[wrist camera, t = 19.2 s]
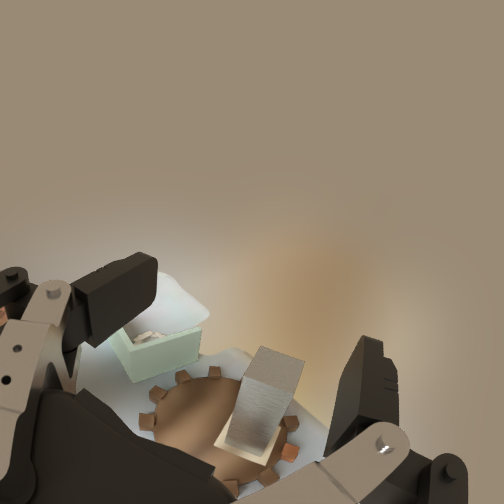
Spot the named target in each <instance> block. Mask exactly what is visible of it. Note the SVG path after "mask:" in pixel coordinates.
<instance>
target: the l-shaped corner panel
mask: <svg viewBox="0 0 504 504" xmlns="http://www.w3.org/2000/svg"><path fill="white" fill-rule="evenodd" d="M201 332H202V330H201V328H200V327H195V328H192V329H189V330H186V331H183V332H179V333H176V334H173V335H170V336H166V335H162V334H160V333H159V332H155V333H153V332H152V331H149V332H144V333H143V334H142V335H138V337H136V338H134V339H133V340H134V344H132V342H131V340H130V339H129V337H128V336H127V334H126V332H125V331H124V329H123V327H122V328H121V329H119V330H118V331H117V332H115V333H114V334H113V335H112V336H110V337H109V338H108V340H109V342H110V344H111V346H112V348H113V350H114V351H115V353H116V355H117V357H118V359H119V361H120V362H121V364H122V366H123V368H124V369H125V371H126V373H127V375H128V376H129V378H130V380H131V381H132V383H137V382H140V381H143V380H146V379H148V378H151V377H154V376H157V375H160V374H163V373H166V372H168V371H171V370H174V369H177V368H180V367H182V366H185V365H188V364H190V363H193V362H196V361H198V355H199V346H200V339H201Z"/></svg>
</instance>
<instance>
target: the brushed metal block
mask: <svg viewBox="0 0 504 504" xmlns="http://www.w3.org/2000/svg"><path fill="white" fill-rule="evenodd" d="M304 363H305V361H302V360H299V359H296V358H293V357H290V356H287V355H284V354H282V353H279V352H276V351H273V350H271V349H268V348H265V347H263V346H260V348H259V349H258V351H257V353H256V355H255V357H254V358H253V360H252V362H251V364H250V365H249V367H248V369H247V371H246V372H245V374H244V376H243V380H242V383H241V387H240V390H239V394H238V397H237V401H236V404H235V408H234V411H233V414H232V418H231V421H230V424H229V428H228V431H227V435H226V438H225V441H224V443H225V444H228V445H230V446H233V447H235V448H238V449H240V450H243V451H245V452H248V453H250V454H253V455H256V456H259V457H261V456H262V454H263V452H264V451H265V449H266V447H267V445H268V443H269V442H270V440H271V438H272V436H273V434H274V432H275V431H276V429H277V427H278V425H279V423H280V421H281V419H282V417H283V415H284V413H285V411H286V409H287V407H288V405H289V403H290V401H291V399H292V397H293V395H294V393H295V390H296V387H297V384H298V381H299V378H300V375H301V372H302V369H303V366H304Z"/></svg>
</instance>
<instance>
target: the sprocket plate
mask: <svg viewBox="0 0 504 504" xmlns="http://www.w3.org/2000/svg"><path fill="white" fill-rule="evenodd" d="M208 375H209V377H202V378H196V379H192V380H191V377H190V376H189V374H188V373H187V372H186V371H185V370H182V371H179V372H176V373H175V381H176V383H177V384H178V385H177V386H175V387H173V388H172V389H171V390H169V391H168V392H167V391H165V390H163V389H162V388H160V387H158V386H156V385H155V386H154V387H153V388H152V389H151V390H150V391H149V396H150V400H151V401H153V402H154V403H156V404H158V405H157V407H156V409H155V412H154V415H152V414H143V413H139V428H140V430H144V431H153V432H154V438H155V442H157V443H160V444H164V445H167V446H170V447H174V448H177V449H180V450H182V451H183V452H185V453H187V454H189V455H191V456H194V457H196V458H198V459H200V460H202V461H204V462H206V463H208V464H211V465H213V466H215V467H216V468H215V471H214V475H213V476H214V477H215V478H217V479H218V480H219V481H221V482H222V483H223V484H224V485H225V486H226V487H227V488H228V489H229V490H230V491H231V492H232V494H233V495H234V496H235V498H236V499H237V497H238V496H239V491H238V486H239V485H244V484H247V483H250V482H253V481H255V480H258V481H259V482H260V483H261V484H262V485H263V486H264V487H265V488H266V487H268V486H270V485H272V484H274V483H276V482H277V481H278V480H279V479H280V477H279V476H278V475H277V474H276V473H275V472H274V471H273V470H272V468H273V467H274V466H275V464H276V463H277V461H278V460H279V459H282V460H286V461H289V462H293V461H294V459H295V458H296V457H297V454H298V451H299V448H300V447H297V446H294V445H290V444H287V443H286V440H287V432H292V431H296V429H297V427H298V426H299V421H298V418H297V416H286V417H282V419H281V421H280V423H279V425H278V427H277V429H276V431H275V432H274V434H273V436H272V438H271V440H270V442H269V443H268V445H267V447H266V449H265V451H264V452H263V454H262V456H261V457H259V456H256V455H253V454H250V453H248V452H245V451H243V450H240V449H238V448H235V447H233V446H230V445H228V444H225V443H224V441H225V438H226V435H227V431H228V428H229V424H230V421H231V418H232V414H233V411H234V408H235V404H236V401H237V397H238V394H239V390H240V387H241V383H242V380H243V377H242V379H241V381H237V380H233V379H228V378H222V377H221V371H220V367H215V366H210V368H209V374H208ZM243 376H244V375H243Z"/></svg>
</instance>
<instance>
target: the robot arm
mask: <svg viewBox="0 0 504 504" xmlns="http://www.w3.org/2000/svg"><path fill="white" fill-rule="evenodd" d="M157 270H158V262H157V259H156V258H154V257H151V256H149V255H147V254H144V253H142V252H137V253H135V254H133V255H131V256H129V257H127V258H125V259H122V260H117V261H113V262H111V263H109V264H107V265H105V266H104V267H103V268H102V267H101V268H99V269H97V270H96V272H95V271H94V272H92V273H90V274H88V275H86V276H84V277H82V278H80V279H78V280H76V281H75V282H73V283H71V284H68V283H66V282H64V281H61V280H50V281H47V282H44V283H42V284H40V285H39V286H38V285H35V284H32V283H29V279H28V273H27V271H26V270H25V269H24V268H21V267H11V268H7V269H5V270H3V271H1V272H0V309H1V308H2V307H4V308H5V312H6V315H7V318H8V321H7V322H6V323H5V324H3V325H2V326H0V504H358V503H360V504H468V472H467V468H466V466H465V464H464V462H463V461H462V460H461V459H460V458H459V457H457V456H456V455H453V454H450V453H444V454H441V455H439V456H437V457H436V458H435V459H434V460H433V461H432V460H430V459H428V458H426V457H424V456H422V455H420V454H418V453H416V452H414V451H412V450H411V449H410V443H409V439H408V437H407V435H406V434H405V432H404V431H403V430H402V429H401V428H399V396H398V384H397V383H398V375H397V369H396V367H395V366H394V364H393V362H392V360H391V359H389V358H385V357H383V355H384V353H383V342H382V341H380V340H377V339H374V338H370V337H367V336H364V335H363V336H362V337H361V338H360V340H359V342H358V343H357V346H356V347H355V349H354V351H353V353H352V355H351V357H350V359H349V361H348V362H347V364H346V366H345V368H344V371H343V372H342V375H341V378H340V381H339V386H338V391H337V397H336V402H335V407H334V412H333V417H332V421H331V426H330V430H329V435H328V439H327V443H326V447H325V451H324V455H323V457H326V458H325V459H324V460H322V461H320V462H317V461H315V462H312V463H310V464H308V465H306V466H305V467H303V468H301V469H299V470H298V471H296V472H294V473H292V474H291V475H289V476H287V477H285V478H283V479H281V480H279V481H278V482H276V483H274V484H272V485H270V486H268V487H266V488H264V489H262V490H260V491H257V492H255V493H253V494H251V495H249V496H247V497H244V498H242V499H240V500H237V499H236V498H235V496H234V495H233V494H232V492H231V491H230V490H229V489H228V488H227V487H226V486H225V485H224V484H223V483H222V482H221V481H219V480H218V479H217V478H215V477H214V476H213V475H214V471H215V468H216V467H215V466H213V465H211V464H208V463H206V462H204V461H202V460H200V459H198V458H196V457H194V456H191V455H189V454H187V453H185V452H183V451H182V450H180V449H177V448H174V447H170V446H167V445H164V444H160V443H157V442H154V441H151V440H148V439H145V438H142V437H139V436H137V435H136V434H134V433H133V432H132V431H131V430H130V429H129V428H128V427H127V425H126V424H125V423H124V422H123V421H122V420H121V419H120V418H119V417H118V416H117V415H116V413H115V412H114V411H113V410H112V409H111V408H110V407H109V406H107V405H106V404H105V403H103V402H102V401H100V400H99V399H98V398H96V397H95V396H94V395H92V394H91V393H90V392H88V391H87V390H86V389H85V388H84V389H82V390H81V391H80V392H79V393H78V394H77V395H76V391H75V386H76V379H77V373H78V367H79V361H80V356H81V350H82V348H81V343H83V342H84V341H85V342H87V343H88V344H90V345H91V346H92V347H94V348H96V347H97V346H99V345H100V344H101V343H102V342H104V341H105V340H106V339H108V338H109V337H110V336H112V335H113V334H114V333H115V332H117V331H118V330H119V329H121V328H122V327H123V326H124V325H126V324H127V323H128V322H130V321H131V320H132V319H134V318H135V317H136V316H138V315H139V314H140V313H141V312H143V311H144V310H145V309H147V308H148V307H149V306H150V305H151V304H152V303H153V301H154V299H155V296H156V290H157Z"/></svg>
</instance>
